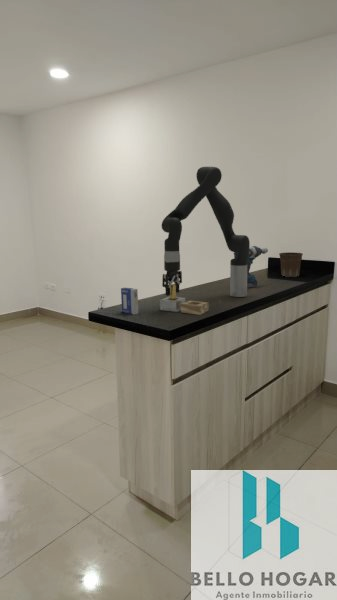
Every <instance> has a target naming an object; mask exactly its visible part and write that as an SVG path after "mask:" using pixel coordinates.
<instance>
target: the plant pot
mask: <svg viewBox="0 0 337 600" xmlns="http://www.w3.org/2000/svg"><path fill="white" fill-rule="evenodd" d="M278 255H279V259H280V272H281V273H280V274H281V275H282V276H281V277H283V276H285V277H284V278H290V277H291V278H297V276H298V277H300V271H301V263H302V257H303V253H302V252H279V253H278Z"/></svg>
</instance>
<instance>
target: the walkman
mask: <svg viewBox="0 0 337 600" xmlns="http://www.w3.org/2000/svg"><path fill="white" fill-rule="evenodd" d="M138 293H139V291H138V288H132V287H122V288H120V294H121V295H120V299H121V313H122V312H124V313H123V314H128V313H129V314H130V315H137V314H139V297H138Z"/></svg>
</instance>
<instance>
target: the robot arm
mask: <svg viewBox="0 0 337 600" xmlns="http://www.w3.org/2000/svg"><path fill="white" fill-rule="evenodd" d="M222 176H223V174H222V171H221V169H220V168H219V167H216V166H202V167H201V166H200V168H198V169H197V172H196V176H195V177H196V181H197V183H198V186H197V187H196V188H195V189H194V190H192V191H191V192H190V193H188V194H186V196H184V197H183V198H182V199H181V201H179V203H178V205H176V207H175V208H174V209H173V210H171V211H170V213H168V215H166V216H165V217H164V218H163V220H162V221H161V229H162V231H163V232H164V233H167V234H168V237H167V238H165V240H164V255H163V265H164V267H163V271H166V273H165V274H164V273H163V274H162V279H161V280H162V284H161V285H162V286H161V287H163V288H165V296H167V297H169V296H170V286H171V284H176V294H177V293H178V294H179V293H180V285H181V284H182V283H183V274H182V273H183V272H182V270H181V254H180V253H181V252H180V240H181V236H182V233H183V232H182V231H183V224H182V221H184V220H186V219H187V218H188V217H189V216H190V215H191V213H192V212H193V211H194V209H195V208H196V207H197V205H198V204H199V203H200V202H201V201H202V200H203V199H205V197H206V199H207V202H208V203H209V205H210V208H211V209H212V211H213V212H212V213H213V214H214V216H215V219H216V221H217V223H218V224H219V226H220V229H221V232H222V234H223V237H224V239H225V244H226V246H227V248H228V250H229V251H231V252H232V253H234V252H238V256H237V257H236V258H232V259H230V261H229V262H230V264H229V265H230V271H229V275H230V276H229V277H230V278H229V281H230V282H229V283H230V284H229V285H230V287H229V293H230V294H229V295H230V297H235V298H242V297H247V296H248V288H247V264H248V259H249V247H251V245H250V238H249V237H248V236H247V235H244V234H236V233H235V231H234V228H233V224H234V223H233V222H234V220H235V219H234V218H235V214H234V213H235V212H234V210H233V208H232V205H231V203H230V202H229V200H228V199H227V197H225V196H224V195H223V194H222V193H221V192H220V191H219V190H218V189H217V186H218V185H219V184H220V183H221V181H222Z"/></svg>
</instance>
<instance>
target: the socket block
mask: <svg viewBox="0 0 337 600" xmlns="http://www.w3.org/2000/svg"><path fill="white" fill-rule="evenodd" d="M185 302H187V300H186V297H179V296H176V300H170V297H169V296H167V297H164V298H161V299H159V308H160V311H167V312H174V313H177V312H179V311H180V312H181V304H182V303H185Z"/></svg>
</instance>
